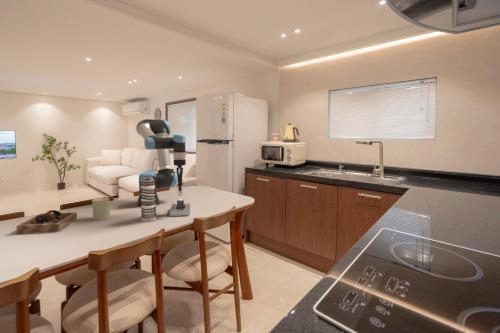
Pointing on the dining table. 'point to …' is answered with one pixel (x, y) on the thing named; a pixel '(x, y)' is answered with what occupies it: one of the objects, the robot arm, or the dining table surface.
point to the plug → (180, 204)
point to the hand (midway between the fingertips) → (180, 195)
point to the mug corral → (33, 225)
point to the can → (101, 208)
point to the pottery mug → (49, 217)
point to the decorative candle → (148, 199)
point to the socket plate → (180, 210)
